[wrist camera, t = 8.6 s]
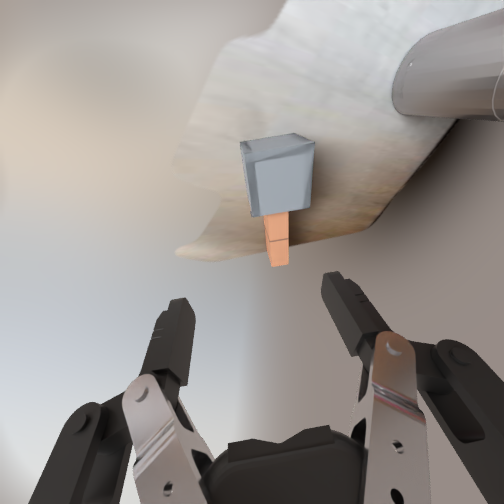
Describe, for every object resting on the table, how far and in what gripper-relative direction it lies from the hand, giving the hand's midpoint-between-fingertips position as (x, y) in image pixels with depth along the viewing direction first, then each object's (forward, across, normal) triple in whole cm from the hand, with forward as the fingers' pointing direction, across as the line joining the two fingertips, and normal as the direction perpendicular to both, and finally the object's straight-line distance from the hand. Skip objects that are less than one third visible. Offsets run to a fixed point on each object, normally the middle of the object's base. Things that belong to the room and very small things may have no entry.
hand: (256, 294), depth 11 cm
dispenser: (+28, -6, +1) cm, 29 cm away
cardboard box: (+28, -6, +12) cm, 31 cm away
